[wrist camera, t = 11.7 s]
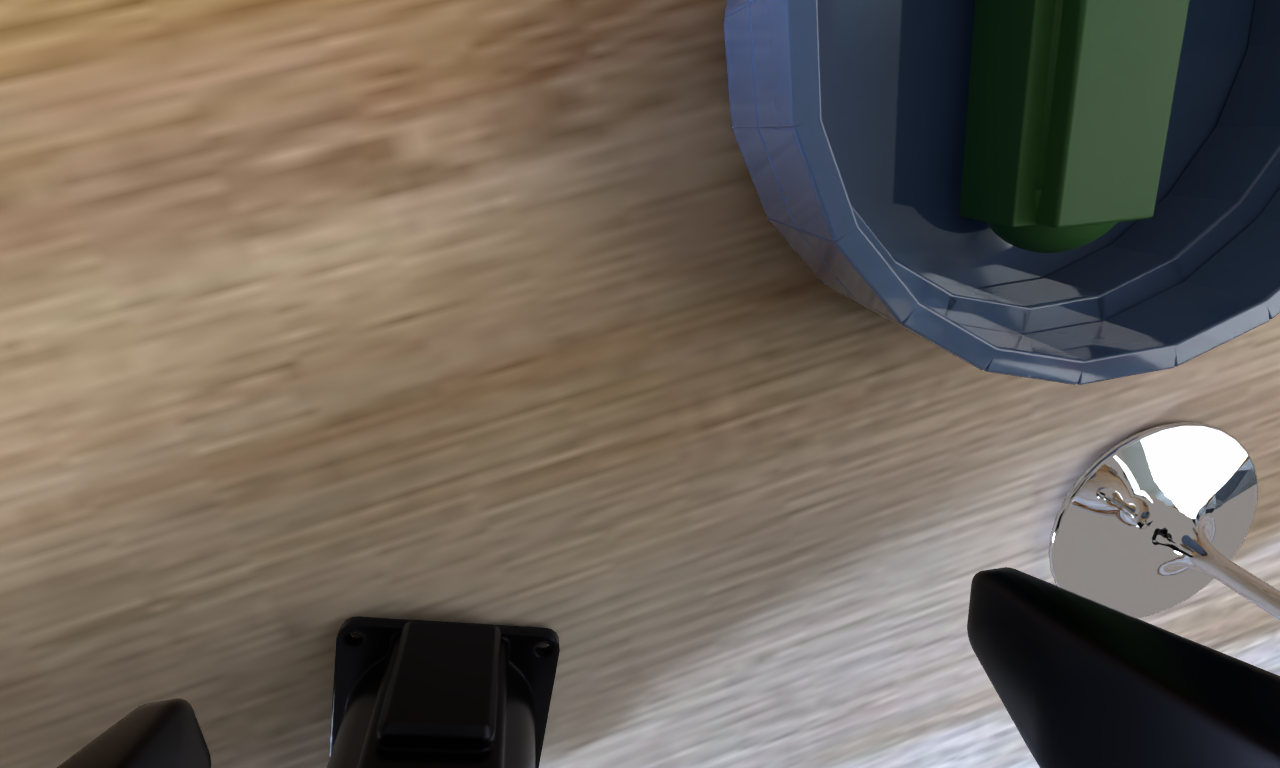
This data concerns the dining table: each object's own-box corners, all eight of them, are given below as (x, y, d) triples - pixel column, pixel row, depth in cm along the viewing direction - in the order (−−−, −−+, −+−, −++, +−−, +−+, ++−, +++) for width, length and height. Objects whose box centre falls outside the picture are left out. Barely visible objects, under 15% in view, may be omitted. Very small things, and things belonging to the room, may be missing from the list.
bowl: (1139, 357, 22) (1302, 419, 17) (665, 282, 19) (708, 331, 14) (1385, -231, 17) (1699, -363, 13) (809, -450, 14) (941, -727, 10)
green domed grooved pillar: (1060, 235, 20) (1170, 256, 16) (941, 248, 19) (1027, 272, 16) (1117, -220, 16) (1272, -312, 13) (972, -215, 16) (1092, -308, 12)
